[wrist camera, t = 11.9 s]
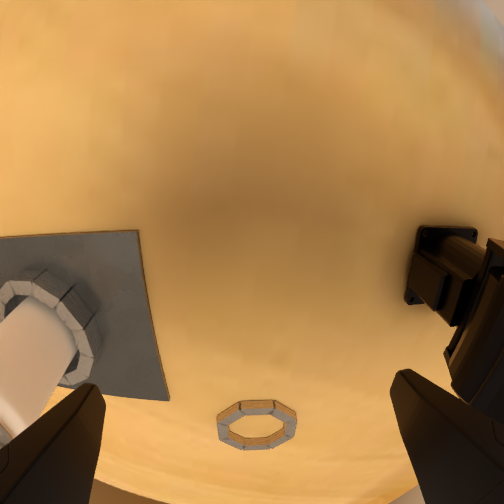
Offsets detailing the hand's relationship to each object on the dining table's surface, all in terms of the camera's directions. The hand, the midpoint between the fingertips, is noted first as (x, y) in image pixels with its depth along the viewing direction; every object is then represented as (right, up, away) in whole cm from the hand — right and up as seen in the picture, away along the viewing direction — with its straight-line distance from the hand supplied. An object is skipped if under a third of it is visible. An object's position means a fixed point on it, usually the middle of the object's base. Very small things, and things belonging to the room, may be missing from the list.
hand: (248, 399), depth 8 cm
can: (-17, -2, +14) cm, 22 cm away
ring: (+1, -13, +19) cm, 23 cm away
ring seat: (-17, -2, +14) cm, 22 cm away
